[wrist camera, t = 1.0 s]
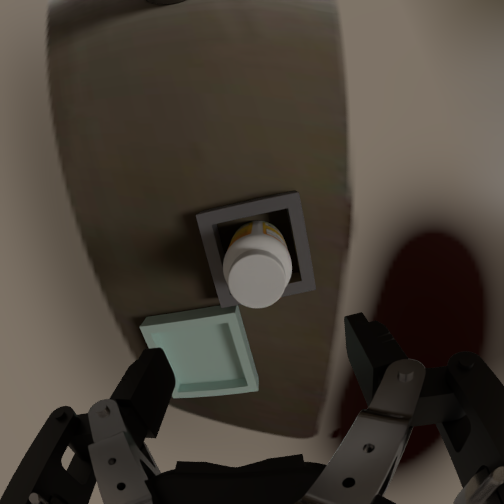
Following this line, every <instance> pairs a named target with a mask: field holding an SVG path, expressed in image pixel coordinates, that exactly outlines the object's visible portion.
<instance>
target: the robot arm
mask: <svg viewBox="0 0 504 504" xmlns="http://www.w3.org/2000/svg"><path fill="white" fill-rule="evenodd" d="M147 1H149V2H151V3H155V4H172V3H177V2H181V1H184V0H147ZM344 322H345V335H346V348H347V354H348V358H349V361H350V363H351V366H352V368H353V370H354V373H355V375H356V377H357V380H358V382H359V385H360V387H361V389H362V392H363V395H364V397H365V400H366V402H367V405H368V409H367V410H365V409H363V410H362V411H361V412H360V413H359V415H358V416H357V418H356V420H355V422H354V423H353V426H352V427H351V428H350V430H349V432H348V434H347V435H346V437H345V438H344V440H343V442H342V443H341V445H340V446H339V448H338V449H337V451H336V453H335V454H334V456H333V457H332V459H331V460H330V462H329V463H328V465H324V464H320V463H312V462H304V460H303V455H302V454H299V455H292V456H285V457H278V458H270V459H266V460H263V461H260V462H256V463H253V464H249V465H245V466H241V467H236V468H235V467H228V466H222V465H218V464H213V463H208V462H182V461H177V464H176V468H175V469H174V470H170V471H166V472H164V473H161V472H160V470H159V468H158V467H157V465H156V463H155V461H154V459H153V457H152V455H151V453H150V452H149V449H148V448H147V445H146V444H145V443H144V439H145V438H156V437H157V434H158V431H159V429H160V426H161V423H162V420H163V418H164V415H165V412H166V409H167V407H168V404H169V401H170V399H171V396H172V393H173V391H174V388H175V384H176V380H175V375H174V372H173V370H172V368H171V366H170V364H169V361H168V359H167V357H166V355H165V352H164V351H163V349H162V348H160V347H159V348H148V349H144V351H143V352H142V354H141V356H140V357H139V359H138V360H136V361H135V362H134V363H133V364H132V365H130V366H129V368H128V370H127V371H126V373H125V375H124V376H123V377H122V379H121V381H120V383H119V384H118V386H117V387H116V389H115V391H114V392H113V394H112V396H111V398H110V399H105V400H101V401H99V402H97V403H95V404H94V405H93V406H92V407H91V408H90V410H89V412H88V413H86V414H80V415H76V413H75V412H74V411H73V409H72V408H71V407H68V406H63V407H60V408H58V409H56V410H54V411H53V412H52V413H51V415H50V416H49V418H48V419H47V421H46V422H45V424H44V425H43V427H42V429H41V430H40V432H39V433H38V435H37V436H36V438H35V440H34V441H33V443H32V444H31V446H30V448H29V450H28V451H27V453H26V454H25V456H24V458H23V459H22V461H21V463H20V465H19V466H18V468H17V470H16V472H15V473H14V475H13V477H12V479H11V481H10V482H9V485H8V486H7V488H6V490H5V492H4V494H3V496H2V498H1V500H0V504H88V503H89V500H90V497H91V494H92V492H93V489H94V486H95V484H96V481H97V483H98V487H99V490H100V494H101V497H102V500H103V503H104V504H396V503H394V502H392V501H390V500H388V499H386V498H385V497H383V495H384V494H385V492H386V490H387V488H388V486H389V484H390V482H391V480H392V478H393V475H394V473H395V471H396V468H397V466H398V463H399V461H400V459H401V456H402V454H403V452H404V449H405V447H406V444H407V442H408V439H409V437H410V434H411V432H412V429H413V426H420V425H428V424H436V426H437V428H438V430H439V432H440V434H441V436H442V439H443V441H444V443H445V445H446V448H447V450H448V452H449V455H450V457H451V459H452V462H453V464H454V467H455V469H456V471H457V474H458V477H459V479H460V482H461V484H462V487H463V489H462V490H461V492H460V493H459V494H458V495H457V497H456V499H455V501H454V504H504V386H503V384H502V383H501V382H500V380H499V379H498V378H497V377H496V375H495V374H494V373H493V372H492V370H491V369H490V368H489V367H488V366H487V364H486V363H485V362H484V361H483V360H482V358H481V357H480V356H478V355H477V354H475V353H472V352H459V353H457V354H454V355H453V356H452V357H451V358H450V359H449V361H448V365H447V366H444V367H437V368H425V367H424V366H423V365H422V363H420V362H418V361H416V360H413V359H408V357H407V356H406V354H405V353H404V352H403V350H402V349H401V347H400V346H399V344H398V343H397V342H396V340H394V337H393V336H392V335H391V334H390V332H389V331H388V329H387V328H386V326H385V325H383V324H381V323H379V322H378V321H372V322H368V321H367V319H366V318H365V316H364V315H363V313H362V312H361V313H357V314H353V315H349V316H345V318H344ZM67 446H69V447H70V448H71V449H72V451H73V452H74V453H75V455H74V456H73V458H72V461H71V463H70V465H69V467H68V469H67V471H66V470H65V469H64V468H63V466H62V463H61V458H62V456H63V454H64V452H65V450H66V448H67Z"/></svg>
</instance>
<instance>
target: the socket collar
mask: <svg viewBox="0 0 504 504" xmlns="http://www.w3.org/2000/svg"><path fill="white" fill-rule="evenodd" d="M282 209H287V214H288V219H289V224H290V229H291V234H292V239H293V244H294V249H295V255H296V260H297V265H298V271H299V272H296V273H292V274H291V278H290V280H289V282H288V284H287V286H286V287H285V290H284V292H283V294H282V296H281V297H283V296H288V295H293V294H298V293H302V292H307V291H312V290H316V287H315V280H314V274H313V268H312V261H311V256H310V250H309V244H308V238H307V233H306V227H305V222H304V217H303V212H302V206H301V201H300V196H299V192H297V191H291V192H286V193H281V194H276V195H271V196H266V197H262V198H257V199H252V200H248V201H243V202H239V203H235V204H230V205H226V206H222V207H217V208H213V209H209V210H205V211H201V212H200V213H198V214H197V215H196V218H197V222H198V226H199V230H200V234H201V238H202V241H203V245H204V249H205V252H206V256H207V260H208V263H209V267H210V270H211V274H212V278H213V281H214V285H215V288H216V291H217V295H218V298H219V302H220V305H221V308H225V307H230V306H236V305H241V304H240V303H239V302H238V301H237V300H236V299H235V298H234V297H233V296H232V294H231V293H230V290H229V287H228V284H227V282H226V280H225V277H224V273H223V262H224V257H225V255H224V251H223V247H222V243H221V239H220V235H219V231H218V227H217V223H222V222H226V221H231V220H235V219H240V218H244V217H249V216H253V215H258V214H263V213H267V212H272V211H277V210H282ZM281 297H280V298H281Z"/></svg>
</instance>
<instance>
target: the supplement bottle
mask: <svg viewBox="0 0 504 504" xmlns="http://www.w3.org/2000/svg"><path fill="white" fill-rule="evenodd" d="M223 273H224V277H225V280H226V282H227V284H228V287H229V290H230V293H231V294H232V296H233V297H234V298H235V299H236V300H237V301H238V302H239V303H240V304H242V305H244V306H247V307H250V308H264V307H267V306H270V305H272V304H273V303H275V302H276V301H277V300H278V299H279V298H280V297H281V296H282V294H283V292H284V290H285V287H286V286H287V284H288V282H289V280H290V278H291V274H292V262H291V258H290V254H289V252H288V249H287V246H286V243H285V240H284V238H283V236H282V234H281V232H280V231H279V230H278V229H277V228H276V227H275V226H274V225H272V224H270V223H268V222H265V221H252V222H248V223H246V224H244V225H243V226H241V227H240V228H239V229H238V230H237V231H236V232H235V234H234V236H233V238H232V240H231V243H230V245H229V247H228V250H227V252H226V254H225V257H224V262H223Z"/></svg>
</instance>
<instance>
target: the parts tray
mask: <svg viewBox="0 0 504 504" xmlns="http://www.w3.org/2000/svg"><path fill="white" fill-rule="evenodd" d="M140 329H141V332H142V334H143V336H144V339H145V341H146V343H147V345H148V348H159V347H160V348H162V349H163V351H164V352H165V355H166V357H167V359H168V361H169V364H170V366H171V368H172V370H173V372H174V375H175V380H176V384H175V388H174V391H173V393H172V396H173V398H190V397H205V396H218V395H228V394H237V393H246V392H253V391H258V383H259V378H258V374H257V371H256V368H255V364H254V361H253V357H252V354H251V350H250V347H249V343H248V340H247V336H246V333H245V329H244V326H243V322H242V318H241V315H240V311H239V307H238V305H236V306H230V307H225V308H221V305H219V306H213V307H207V308H201V309H195V310H189V311H182V312H176V313H170V314H163V315H156V316H149V317H146V319H145V320H144V321H143V323H142V324H141V325H140Z"/></svg>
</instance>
